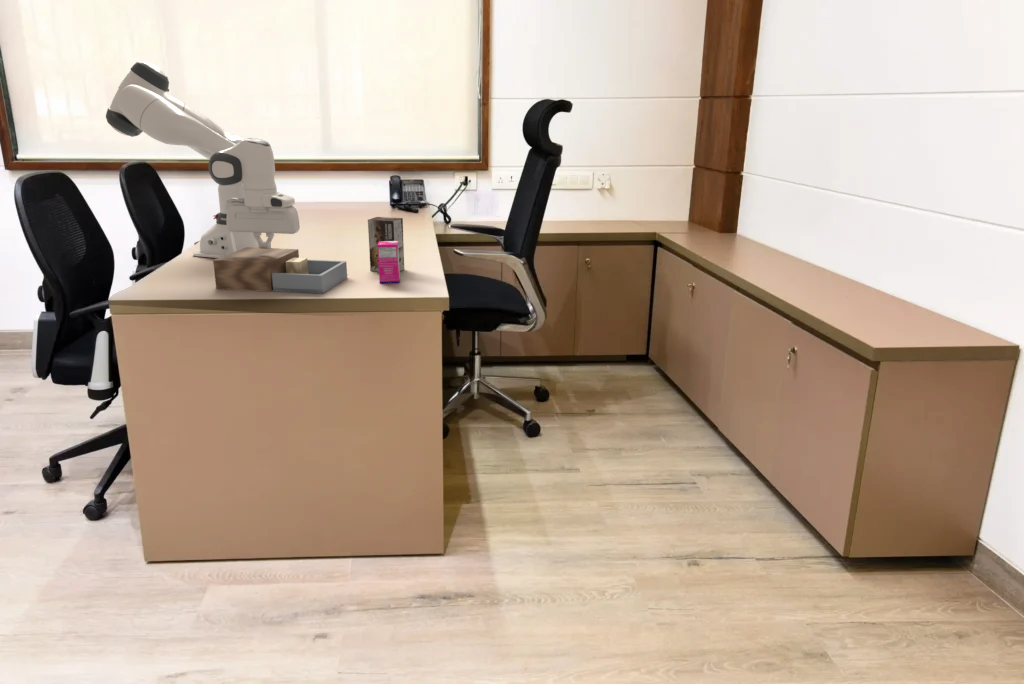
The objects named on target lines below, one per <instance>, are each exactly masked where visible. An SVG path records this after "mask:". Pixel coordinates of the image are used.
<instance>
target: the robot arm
mask: <svg viewBox="0 0 1024 684" xmlns="http://www.w3.org/2000/svg"><path fill="white" fill-rule="evenodd" d="M169 85H170V81H169V77H168V76H167V75H166V73H164V71H163V70H162V69H161V68H160V67H159V66H157V65H155V64H153V63H150V62H145V61H143V60H140V61H136V62H135V63H134V64H133V65H132V66H131V67H130V71H129V72H128V73H127V74H126V75H125V77H124V78H123V80H122V81H121V82H120V83H119V86H118V87H117V88H118V89H117V91H116V93H115V94H114V96H113V99H112V101H111V104H110V106H109V107H108V108H107V111H106V113H105V118H106V119H105V120H106V122H107V123H108V124H109V125H110V127H111V128H112V129H114V131H115V132H117V133H119V134H121V135H123V136H129V137H132V138H133V137H138V136H139V135H141V134H142V133H145V134H146V135H147V136H149V137H150V138H152V139H154V140H156V141H158V142H159V143H160V142H161V143H162V144H166V145H172V146H185V147H188V148H190V149H191V150H193V151H195V152H196V153H198V154H199V155H202V157H204V158H206V159H207V160H208V168H207V169H208V172H209V176H210V177H211V179H212V180H213V182H215V183H216V184H217V185H218V187H217V193H218V201H219V203H218V204H219V212H218V213H216V214H215V215H213V220H215V221H216V222H215V224H214V225H213V226H212V227H210V228H209V229H208V230H207V231H206V232H205V233H203V234H202V235H201V237H200V239H199V248H198V249H196V250H194V252H193V254H192V255H193V256H194V257H204V258H215V259H217V258H220V257H223V256H225V255H228V254H230V253H233V252H236V251H238V250H241V249H243V248H246V247H254V248H260V249H270V248H272V246H271V245H272V244H271V243H272V241H273V239H274V237H275V234H285V235H286V234H287V235H295V234H296V233H298V232H299V231H300V228H301V227H300V219H299V214H298V213H299V212H298V210H297V208H296V207H295V206H294V205H295V204H296V203H295V202H296V201H295V200H296V199H295V198H294V197H292V196H290V195H286V194H285V193H284V194H283V193H282V192H279V191H278V190H277V189H278V188H277V185H276V182H275V175H276V164H275V157H274V153H273V152H274V151H273V148H272V147H271V144H270V143H269V142H268V141H266V140H263V139H259V138H253V137H244V136H241V135H235V134H233V133H231V132H229V131H227V130H226V129H224V128H223V127H221V126H220V125H218V124H217V123H215V122H214V121H213V120H212V119H210V118H209V117H207V116H206V115H205V114H203V113H201V112H200V111H198V110H196V109H195V108H193V107H191V106H189V105H188V104H186V103H185V102H183V101H181V100H180V99H178V98H176V97H174V96H172V95H170V94H168V93H169V92H170V89H169ZM166 92H167V93H166ZM262 234H265V237H267V239H266V241H264V240H263V239H262V237H261V236H262Z"/></svg>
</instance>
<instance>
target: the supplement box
mask: <svg viewBox="0 0 1024 684" xmlns="http://www.w3.org/2000/svg"><path fill="white" fill-rule="evenodd" d="M377 249H378V265H379V271H378V278H379V279H378V281H379V282H378V283H379V284H399V283H401V281H400V280H401V273H400V272H401V271H400V269H399V251H398V241H379V243H378V245H377Z"/></svg>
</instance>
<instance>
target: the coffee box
mask: <svg viewBox="0 0 1024 684" xmlns="http://www.w3.org/2000/svg"><path fill="white" fill-rule="evenodd" d="M403 221H404V220H403V217H389V216H388V217H387V216H375V217H372V218H369V219H367V230H368V231H367V232H368V248H369V249H368V251H369V267H370V268H369V269H370V272H379V265H378V249H377V245H378V243H379V241H398V251H399V269H400V272H401V271H404V270H405V253H404V252H405V247H404V245H405V244H404V225H403V224H404V222H403Z"/></svg>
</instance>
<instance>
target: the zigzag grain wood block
mask: <svg viewBox="0 0 1024 684" xmlns="http://www.w3.org/2000/svg"><path fill="white" fill-rule="evenodd" d="M299 252H300V251H299V248H279V247H277V248H276V247H271V248H270V249H260V248H254V247H246V248H243V249H241V250H238V251H236V252H233V253H230V254H228V255H225V256H223V257H220V258H215V259H213V260H212V261H213V262H212V263H213V271H214V281H215V288H216V290H217V289H218V290H233V289H238V290H239V291H257V292H260V291H262V292H274V291H273V280H272V273H286V261H288V260H290V259H292V258H300V254H299Z"/></svg>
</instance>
